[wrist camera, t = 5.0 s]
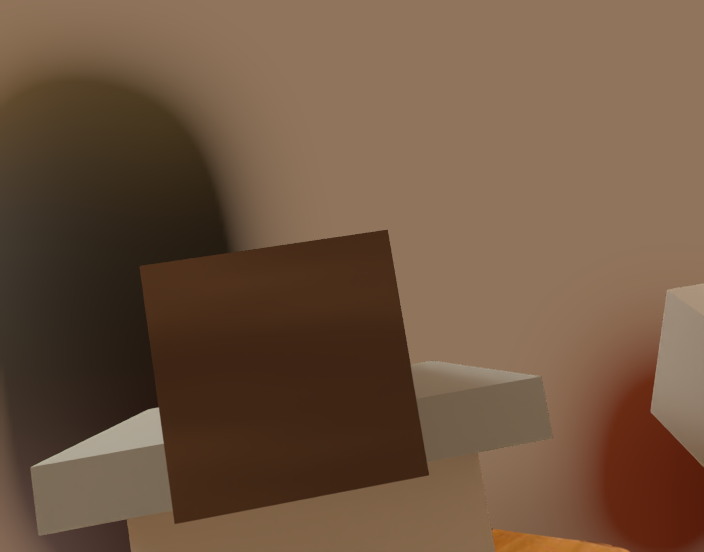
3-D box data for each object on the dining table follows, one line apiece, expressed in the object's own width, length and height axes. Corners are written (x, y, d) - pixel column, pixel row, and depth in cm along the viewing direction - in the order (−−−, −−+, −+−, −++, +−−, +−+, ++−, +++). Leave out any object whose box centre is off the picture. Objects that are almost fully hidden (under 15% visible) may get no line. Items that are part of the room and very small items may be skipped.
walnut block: (429, 475, 10) (387, 229, 10) (174, 524, 10) (139, 266, 10) (327, 376, 38) (316, 309, 38) (260, 388, 37) (250, 320, 38)
